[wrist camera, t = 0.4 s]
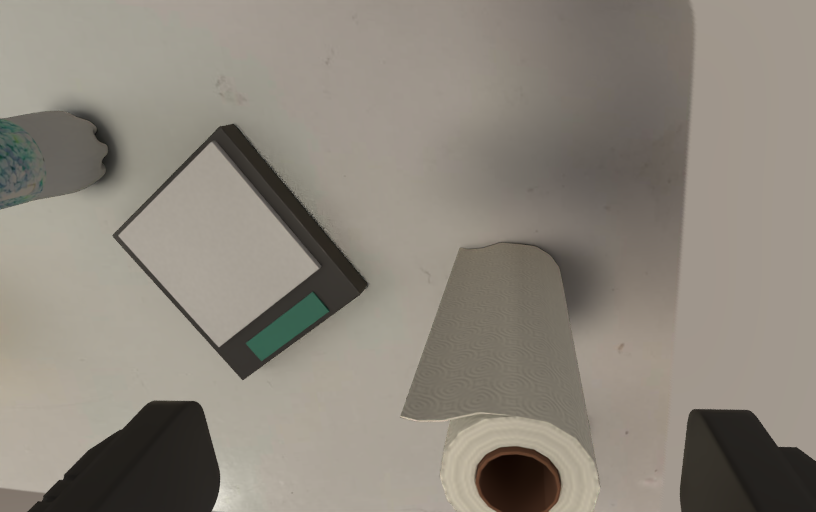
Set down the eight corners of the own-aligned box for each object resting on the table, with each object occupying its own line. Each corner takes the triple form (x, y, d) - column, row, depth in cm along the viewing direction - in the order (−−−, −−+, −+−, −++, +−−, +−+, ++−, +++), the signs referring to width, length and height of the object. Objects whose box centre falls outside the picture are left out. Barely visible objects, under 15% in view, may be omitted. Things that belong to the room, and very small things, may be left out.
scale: (128, 229, 46) (106, 237, 43) (233, 123, 41) (215, 126, 38) (253, 368, 48) (239, 384, 45) (368, 284, 43) (358, 297, 40)
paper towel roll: (574, 301, 40) (626, 530, 20) (499, 328, 42) (478, 562, 22) (536, 214, 38) (550, 371, 19) (459, 247, 40) (398, 419, 20)
